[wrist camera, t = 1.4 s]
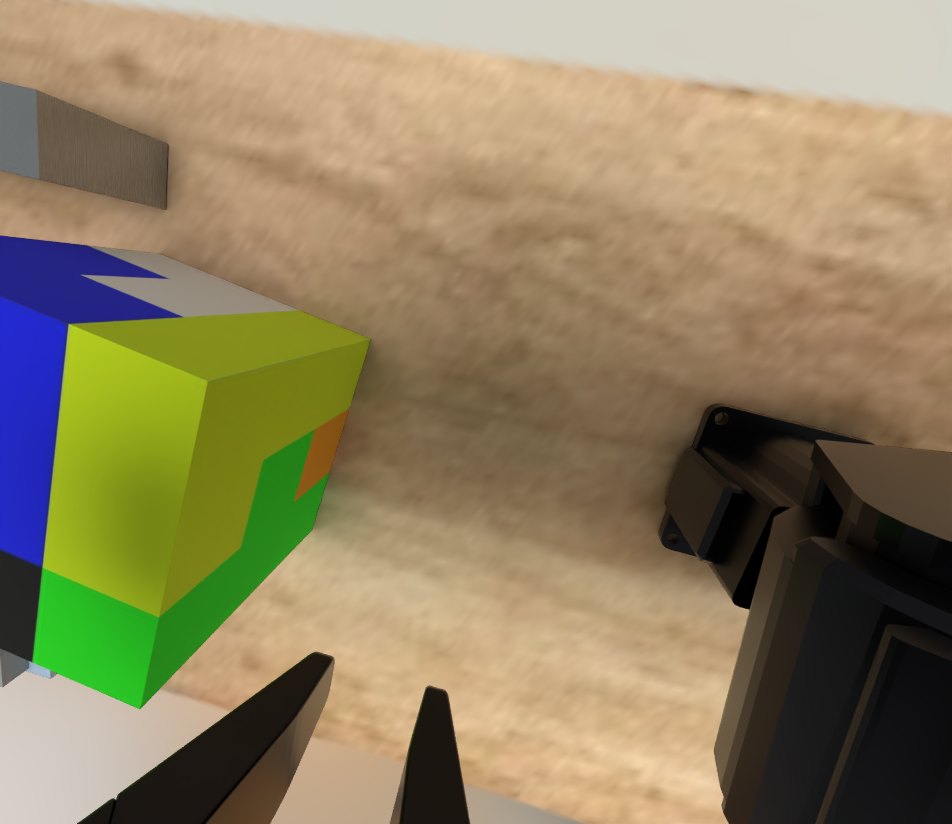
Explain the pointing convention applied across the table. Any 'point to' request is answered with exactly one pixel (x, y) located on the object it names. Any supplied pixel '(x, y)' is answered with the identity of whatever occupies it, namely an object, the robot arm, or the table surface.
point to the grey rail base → (78, 148)
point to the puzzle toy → (151, 454)
